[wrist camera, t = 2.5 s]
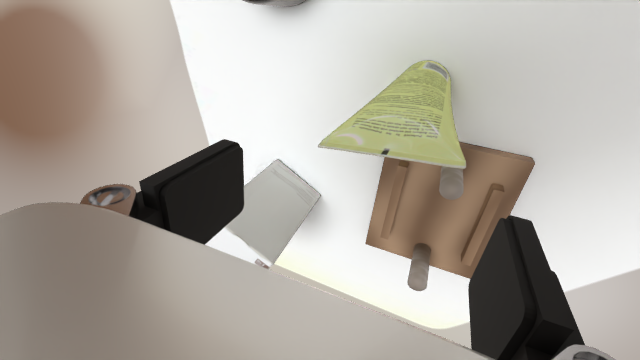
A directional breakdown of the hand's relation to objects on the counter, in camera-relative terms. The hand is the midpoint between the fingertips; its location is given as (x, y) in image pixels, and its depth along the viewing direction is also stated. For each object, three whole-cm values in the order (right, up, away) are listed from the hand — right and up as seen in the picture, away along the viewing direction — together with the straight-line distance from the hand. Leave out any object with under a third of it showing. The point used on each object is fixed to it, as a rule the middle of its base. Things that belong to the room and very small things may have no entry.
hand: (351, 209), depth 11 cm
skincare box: (-5, 0, +33) cm, 33 cm away
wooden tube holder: (+13, -2, +25) cm, 28 cm away
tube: (+9, +11, +20) cm, 25 cm away
